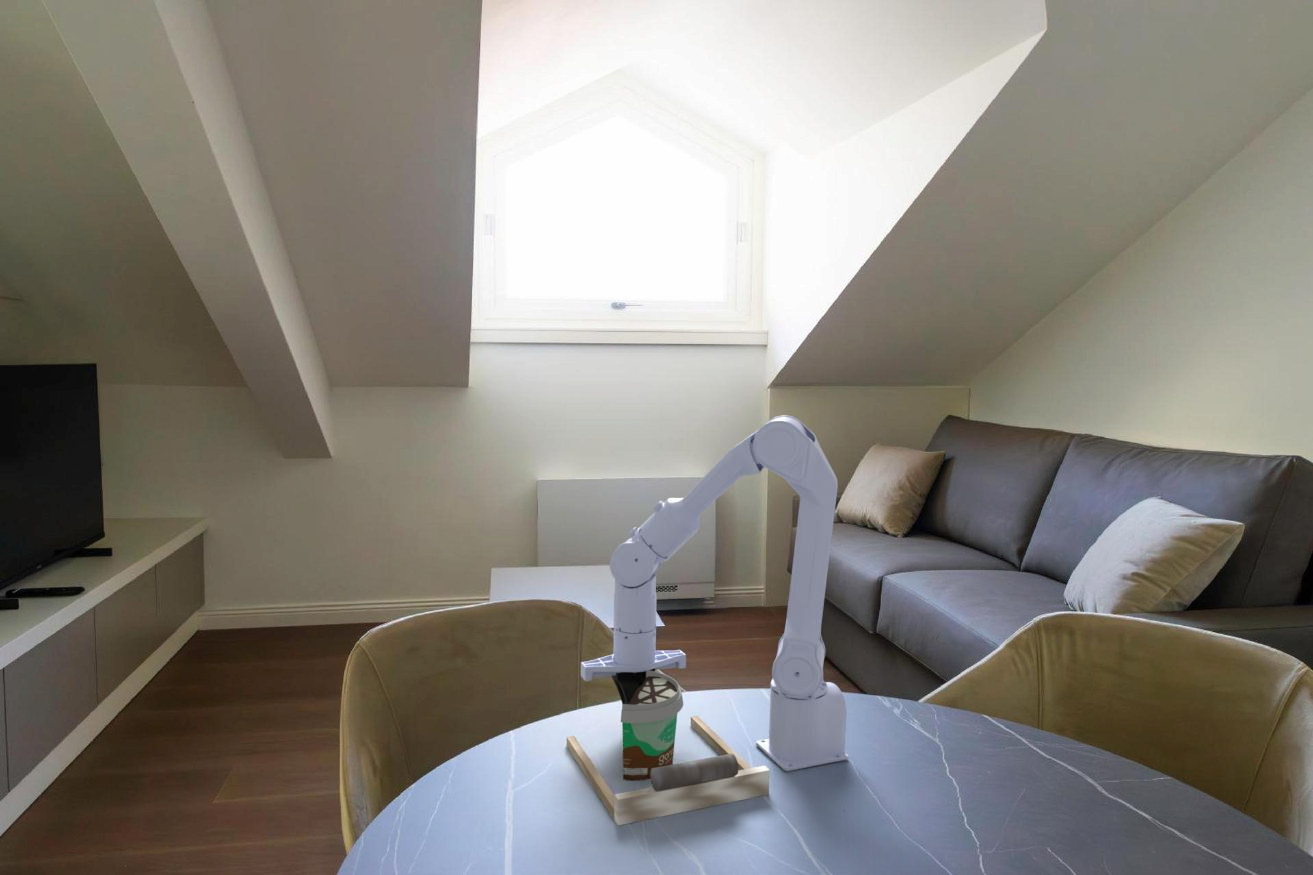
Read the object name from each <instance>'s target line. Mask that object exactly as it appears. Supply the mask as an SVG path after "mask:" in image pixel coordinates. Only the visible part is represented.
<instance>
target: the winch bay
mask: <svg viewBox="0 0 1313 875" xmlns="http://www.w3.org/2000/svg"><path fill="white" fill-rule="evenodd" d="M690 726H691V727H692V728H693V729H694V730H695V731H696V732H697V733H698V734H699V735H700V736H701V737H702V738H703V739H704V740H705V741H706V743H708V744H709V745H710V746H711V747H712V748H713V749H714V750H715V751H716V752H717V753H718V754H719V755H717V756H711V757H706V758H701V759H696V760H690V761H684V762H680V763H674V764H672V765H667V766H662V767H656V768H652V769H651V772H650V778H651V779H650V782H651V783H650V784H651V787H646V788H641V789H635V790H630V791H625V792H620V793H619V792H618V793H615V794H614V792H612V790H611V788H610V786H609V785H608V784H607V782H606V781H605V779H604V778H603V776H602V775H601V773H600V772H599V770H598V769H597V767H595V765H594V763H593V761H592V760H591V758H590V757H589V755H588V754H587V753H586V751H585V750H584V748H583V746H581V743H580V742H579V741H578V740H577V738H576V737H575V735H571V736H566V747H567V748H568V750H569V752H570V753H571V755H572V756H573V758H574V759H575V761H576V762H577V765H578V766H579V767H580V768H581V770H582V772H583V774H584V775H585V777H586V778H587V780H588V781H589V783H590V784H591V786H592V788H593V789H594V791H595V792H596V794H597V795H598V797H599V798H600V800H601V801H602V803H603V804H604V807H605V808H606V810H607V811H608V813H609V814H610V816H611V818H612V819H613V821H614V822H615V824H616V825H617V826H623V825H627V824H631V823H637V822H641V821H646V820H651V819H656V818H662V817H665V816H670V815H676V814H680V813H685V812H689V811H696V810H700V809H704V808H708V807H713V806H718V805H724V804H729V803H734V802H738V801H743V800H748V799H753V798H758V797H761V796H762V797H763V796H768V795H770V775H771V773H770V772H771V771H770V769H769V768H768V766H766V765H760V766H755V767H751V766H750V765H749V764H748V763H747V762H746V760H744V759H743V758H742V756H740V755H739V754H738V753H737V752H736V751H735V750H733V748H732V747H730V746H729V744H728V743H726V742H725V741H724V740H723V739H722V738H721V737H720V736H719V735H718V734H717V733H716V731H714V730H713V729H712V728H711V727H710V726H709V725H708V724H706V722H705V721H703V720H702V719H701V718H700V717H699V716H698V715H695V716H693V715H692V716H690Z"/></svg>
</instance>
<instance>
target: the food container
mask: <svg viewBox="0 0 1313 875" xmlns="http://www.w3.org/2000/svg"><path fill="white" fill-rule="evenodd" d="M683 707H684V699H683V694H682V690H681V687H680V685H679V683H678V681H677V680H676V679H674V678H673V677H671V676H670V675H667V674H665V673H663V672H659V671H656V670H655V671H649V670H646V679H645V681H644V683H643V684H642V685H641V686H640V687H639V688H638V689H637V690H636V692H635V693H634V695H633V697H632V699H631V701H630V703H629V704H621V714H620V723H622V726H621V728H622V729H621V730H622V734H621V735H622V780H623V781H630V782H635V781H638V782H639V781H648V780H651V778H650V772H651V769H652V768H656V767H662V766H667V765H673V762H674V752H675V743H676V742H675V741H676V732H677V722H678V713H680V711H681V710H682V708H683Z"/></svg>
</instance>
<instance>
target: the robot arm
mask: <svg viewBox="0 0 1313 875" xmlns="http://www.w3.org/2000/svg"><path fill="white" fill-rule="evenodd" d="M764 469H767V470H768V471H771V472H772V473H774V474H775V475H778V476H779V477H781V478H783V479H784V481H785V482H787V483H788V485H790V487H791V488H792V489H793V490H794V491H795V493H797V494H798V496H799V506H798V516H797V525H796V534H795V540H794V541H795V542H794V551H793V558H792V567H791V574H790V575H791V577H790V585H789V595H788V602H787V609H786V610H787V612H786V620H785V626H784V633H783V634H782V636H781V637H780V639H779V641H778V644H777V652H776V657H775V659H774V661H773V663H772V666H771V667H772V669H771V675H772V679H771V680H770V694H769V695H770V698H769V699H770V701H769V703H770V704H769V705H770V706H769V730H768V732H769V733H768V734H769V735H768V738H766V739H759V740H756V741H755V745H756V746H757V747H758V748H759V749H760V750H761V751H762V752H763V753H765V754H766V755H767V756H768V757H769V758H770V759H771V760H772V761H774V762H775V763H776V764H777V765H778V766H780V768H781V769H783V771H787V772H790V771H795V770H800V769H805V768H810V767H816V766H820V765H825V764H830V763H831V764H832V763H836V762H840V761H845V760H848V759H849V754H847V753H846V748H845V747H846V734H847V733H846V729H847V705H846V700H845V698H844V695H843V693H842V691H841V689H840V688H839V687H838V685H837V684H835V683H834V682H830V681H828V682H827V681H825V680H824V670H823V669H824V660H825V658H826V647H825V643H824V640H823V636H822V633H821V632H822V622H823V621H822V620H823V613H824V603H825V596H826V595H825V594H826V588H827V580H828V579H827V578H828V571H829V562H830V555H831V545H832V538H833V531H834V529H833V527H834V521H835V512H836V505H837V504H836V503H837V495H838V486H839V485H838V478H837V476H836V474H835V472H834V470H833V468H832V467H831V464H830V462H829V461H828V459H827V457H826V454H825V453H824V451H823V448H821V445H820V443H819V441H818V438H817V436H816V434H815V433H814V432H812V430H811V429H810V428H808V427H807V426H806V425H805V424H804V423H803V422H802V421H800V420H799V419H798V418H796V417H795V416H792V415H778V416H775V417H772V418H771V419H770V420H769V421H767V422H766V423H764V424H763V425H761V427H760V428H759V429H757V430H756V431H754V432H753V433H752V434H750V435H749V436H747V437H745V439H743V440H742V441H740V442H739V443H737V444H735V446H733V447H732V448H730V450H728V451H727V452H726V454H725V455H723V456H722V458H720V459H719V460H718V462H717V463H716V464H714V466H713V467H712V468H711V469H710V470H709V471H708V472H707V473H706V474H705V475H704V476H703V477H702V478H701V479H700V480H699V482H697V483H696V484H695V486H694V487H693V488H692V489H691V490H690V491H689V492H687V494H686V495H685V496H684V497H669V498H667V500H666V501H663V500H659V501H658V502H657V503H656V504H655V505H654V506H653V507H652V509H653V510H654V512H653V513H652V514H651V515H650V516H649V517H648V518H647V519H646V520H645V521H644V522H643V523H642V524H641V525H640V526H639V527H637V526H635V527H633V529H631V530H630V531H629V533H628V534H629V535H630V538H628V539H627V540H626V541H624V542H623V543H620V544H619V545H618V546H617V547H616V549H615V550H614V551H613V553H612V555H611V557H610V559H609V560H610V561H609V570H610V573H611V575H612V577H613V579H614V594H613V651H612V652H613V653H612V654H610V655H606V656H602V657H598V658H595V659H592V660H588V661H580V677H581V678H582V680H583V681H584V682H590V681H593V679H596V678H597V679H598V678H605V677H611V679H612V681H613V683H614V684H615V686H616V689H617V691H618V694H619V697H620V701H621V703H622V704H629V703H630V701H631V699H632V697H633V695H634V693H635V692H636V690H637V689H638V688H639V687H640V686H641V685H642V684H643V683H644V681H645V679H646V670H649V671H655V672H656V670H657V671H658V670H664V669H674V668H677V669H681V670H682V669H686V667H687V654H686V653H684V652H683V651H682V650H681V649H677V650H676V649H675V650H656V644H657V643H656V642H657V599H658V598H657V590H656V589H657V574H656V573H657V572H658V571H659V570H660V568H661V566H662V564H663V562H667V561H668V560H669V559H670V558H671V557H672V556H673V555H674V554H676V552H677V551H679V550H680V549H681V548H682V547H683V546H684V545H685V544H686V543H687V542H688V541H689V540H690V539H691V538H692V537H693V536H694V535H695V534H696V533H697V532H698V531H699V530H700V525H701V524H700V520H701V519H700V518H701V514H702V513H703V512H704V511H705V510H706V509H707V508H708V507H709V506H711V505H712V504H713V503H714V502H715V501H716V500H717V499H719V498H720V497H721V496H722V495H723V494H724V493H725V492H727V490H728V489H730V488H731V487H732V486H733V485H734V484H735V483H736V482H737V481H738V480H740V478H742V477H745V476H751V475H757V474H760V473H761V472H762V471H763V470H764ZM622 704H621V705H622Z"/></svg>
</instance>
